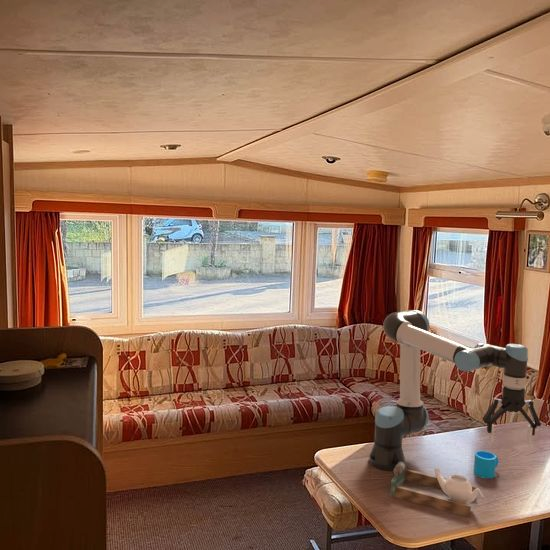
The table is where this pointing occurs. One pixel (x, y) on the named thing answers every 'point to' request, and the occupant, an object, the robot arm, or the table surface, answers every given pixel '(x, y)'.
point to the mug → (485, 464)
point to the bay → (422, 497)
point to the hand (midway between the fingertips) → (509, 442)
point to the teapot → (458, 488)
